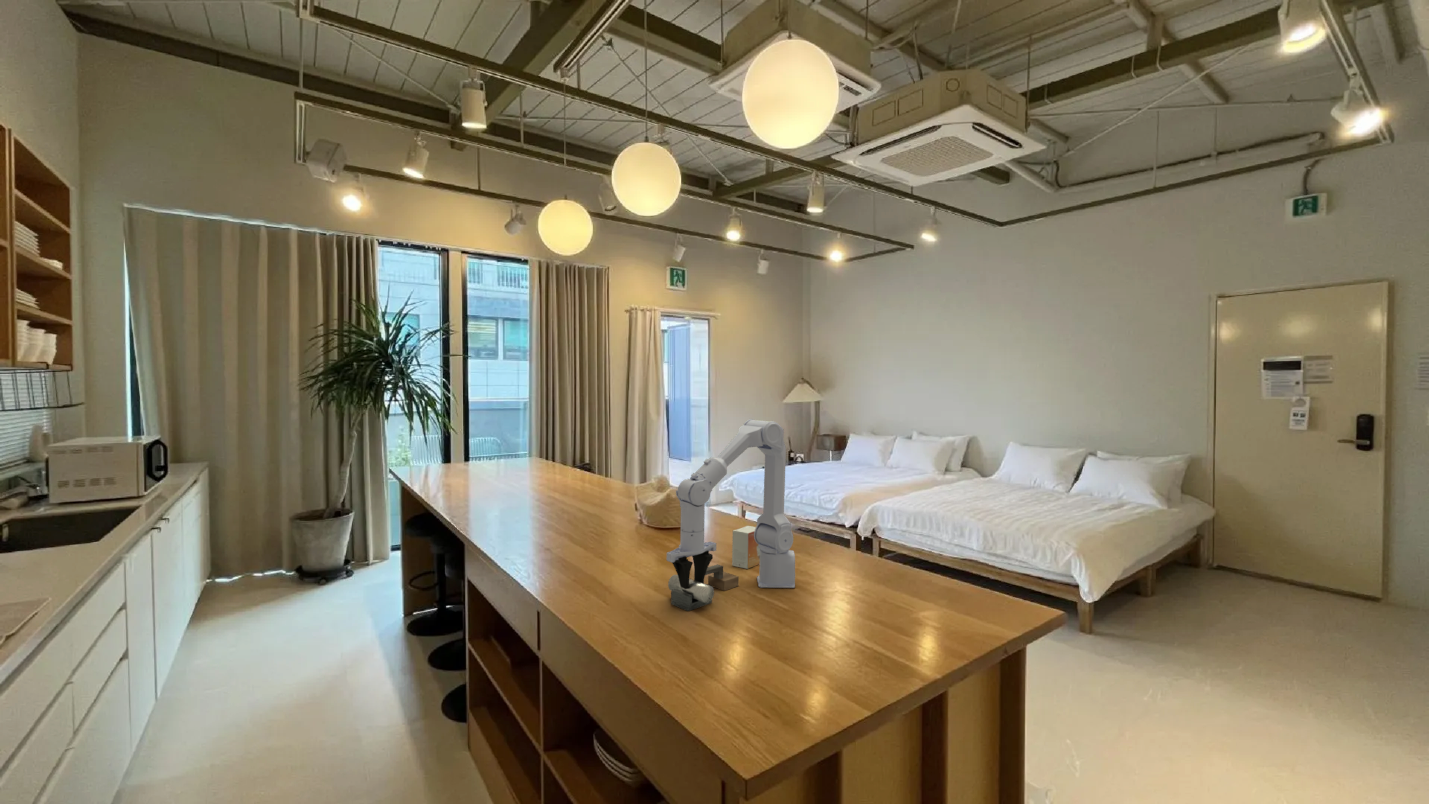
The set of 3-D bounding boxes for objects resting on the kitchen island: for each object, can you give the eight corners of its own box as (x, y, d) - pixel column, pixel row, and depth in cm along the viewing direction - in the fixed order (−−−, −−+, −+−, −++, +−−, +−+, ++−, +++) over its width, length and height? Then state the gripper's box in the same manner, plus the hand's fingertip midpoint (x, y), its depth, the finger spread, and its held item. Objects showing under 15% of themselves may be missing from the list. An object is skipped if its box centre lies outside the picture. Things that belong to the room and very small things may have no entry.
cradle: (671, 604, 142) (671, 589, 142) (695, 596, 148) (695, 582, 148) (687, 611, 138) (688, 596, 138) (711, 602, 144) (712, 588, 144)
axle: (667, 592, 146) (668, 576, 146) (680, 589, 149) (680, 573, 149) (701, 604, 138) (702, 587, 138) (713, 601, 140) (714, 584, 140)
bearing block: (688, 591, 152) (689, 569, 151) (722, 580, 160) (722, 559, 160) (705, 597, 147) (705, 575, 147) (738, 585, 156) (738, 564, 156)
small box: (747, 569, 169) (748, 533, 169) (731, 565, 173) (732, 530, 173) (762, 563, 176) (763, 528, 176) (746, 559, 179) (747, 525, 179)
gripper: (702, 521, 150) (702, 574, 151) (658, 531, 140) (657, 588, 141) (722, 526, 145) (721, 581, 146) (678, 537, 135) (677, 596, 136)
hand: (691, 585), depth 143 cm, fingers open, 4 cm apart
